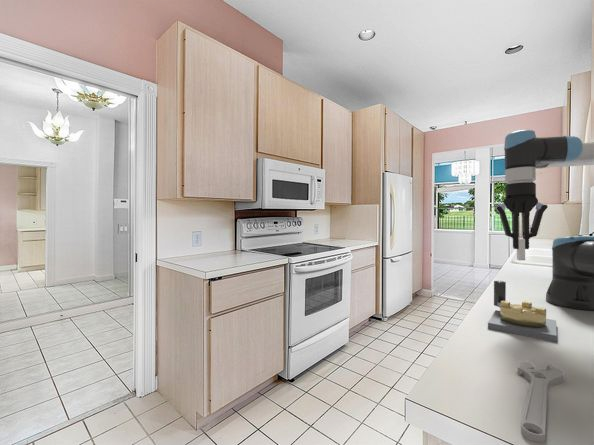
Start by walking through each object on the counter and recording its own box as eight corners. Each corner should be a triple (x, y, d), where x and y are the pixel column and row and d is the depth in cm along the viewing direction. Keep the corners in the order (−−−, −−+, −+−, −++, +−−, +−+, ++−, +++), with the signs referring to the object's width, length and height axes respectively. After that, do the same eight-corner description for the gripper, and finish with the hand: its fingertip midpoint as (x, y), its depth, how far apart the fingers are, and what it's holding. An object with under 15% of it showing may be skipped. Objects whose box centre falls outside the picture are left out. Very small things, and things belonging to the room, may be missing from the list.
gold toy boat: (556, 327, 75) (556, 295, 75) (513, 326, 77) (513, 294, 77) (514, 307, 93) (514, 281, 93) (480, 306, 94) (480, 280, 94)
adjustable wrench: (545, 450, 39) (545, 437, 39) (488, 426, 44) (488, 414, 44) (564, 377, 56) (564, 368, 56) (522, 365, 61) (522, 357, 61)
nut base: (494, 310, 95) (494, 305, 95) (555, 320, 86) (555, 315, 86) (483, 327, 81) (483, 321, 81) (556, 342, 71) (556, 335, 71)
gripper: (542, 182, 92) (543, 258, 92) (492, 185, 97) (493, 257, 97) (551, 179, 85) (552, 262, 85) (497, 183, 90) (498, 260, 90)
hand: (521, 259), depth 91 cm, fingers closed
